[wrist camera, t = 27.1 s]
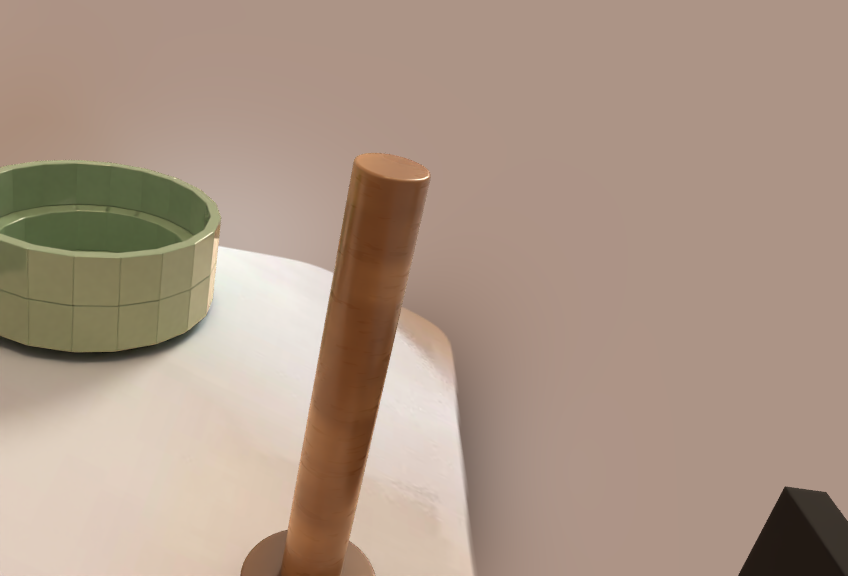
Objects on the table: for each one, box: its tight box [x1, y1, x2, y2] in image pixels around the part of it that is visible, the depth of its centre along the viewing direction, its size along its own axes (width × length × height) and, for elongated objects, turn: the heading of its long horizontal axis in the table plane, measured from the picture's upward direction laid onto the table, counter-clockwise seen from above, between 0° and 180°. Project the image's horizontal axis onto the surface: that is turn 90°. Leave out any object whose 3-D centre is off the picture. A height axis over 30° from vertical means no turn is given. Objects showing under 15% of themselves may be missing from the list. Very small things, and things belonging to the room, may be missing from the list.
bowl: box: [0, 160, 221, 352], centre depth 44 cm, size 13×13×6 cm
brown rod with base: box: [240, 153, 431, 576], centre depth 26 cm, size 5×5×18 cm
